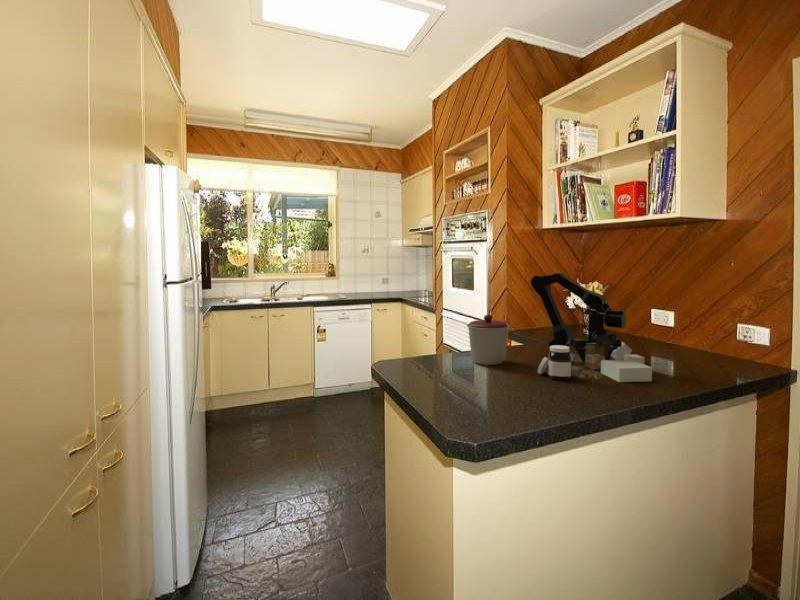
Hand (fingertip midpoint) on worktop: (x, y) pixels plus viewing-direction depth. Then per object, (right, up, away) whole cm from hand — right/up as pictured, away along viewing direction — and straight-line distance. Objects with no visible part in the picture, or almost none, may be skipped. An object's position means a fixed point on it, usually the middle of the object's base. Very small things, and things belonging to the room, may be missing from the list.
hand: (594, 363), depth 162 cm
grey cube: (+15, -2, -1) cm, 15 cm away
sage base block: (+5, -3, -14) cm, 15 cm away
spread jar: (-21, -3, -12) cm, 25 cm away
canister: (-41, -2, +10) cm, 43 cm away
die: (+17, -1, +12) cm, 20 cm away
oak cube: (0, -2, 0) cm, 2 cm away
